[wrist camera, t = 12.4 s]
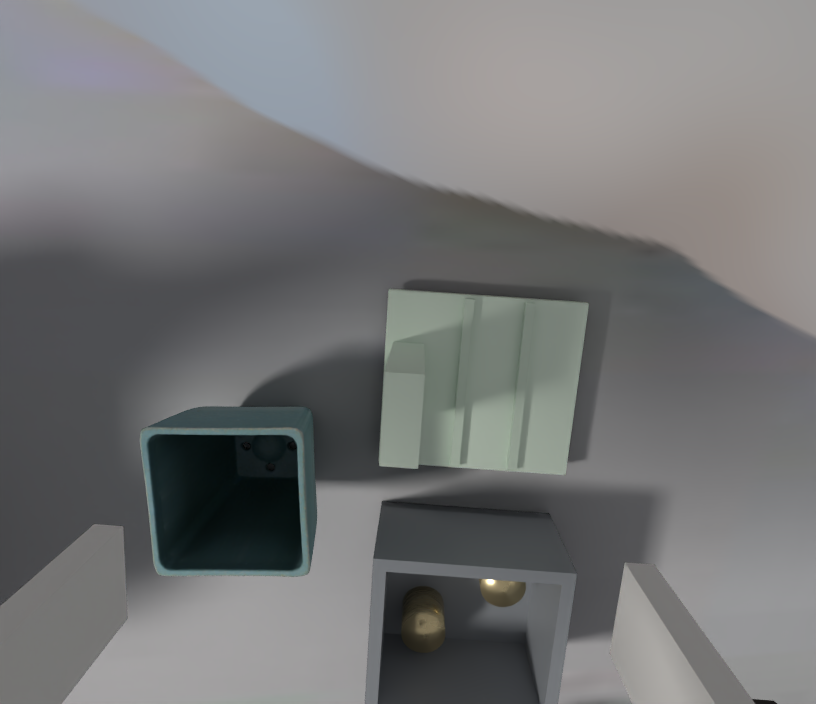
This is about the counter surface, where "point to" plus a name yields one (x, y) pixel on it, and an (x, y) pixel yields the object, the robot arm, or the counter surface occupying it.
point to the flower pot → (231, 491)
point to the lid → (480, 381)
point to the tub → (469, 606)
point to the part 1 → (423, 619)
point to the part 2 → (502, 592)
